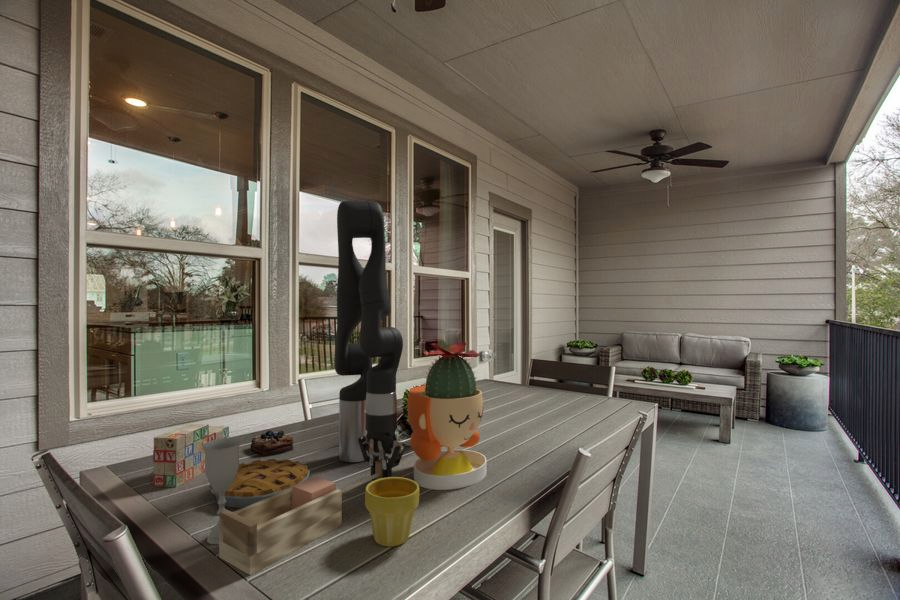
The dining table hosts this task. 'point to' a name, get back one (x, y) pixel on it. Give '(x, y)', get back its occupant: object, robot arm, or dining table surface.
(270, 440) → the pastry
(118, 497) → the dining table surface
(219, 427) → the stack of blocks
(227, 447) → the chalice
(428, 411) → the potted cactus
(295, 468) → the pie
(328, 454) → the dining table surface
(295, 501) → the pull block
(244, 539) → the light wooden box
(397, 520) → the plant pot
